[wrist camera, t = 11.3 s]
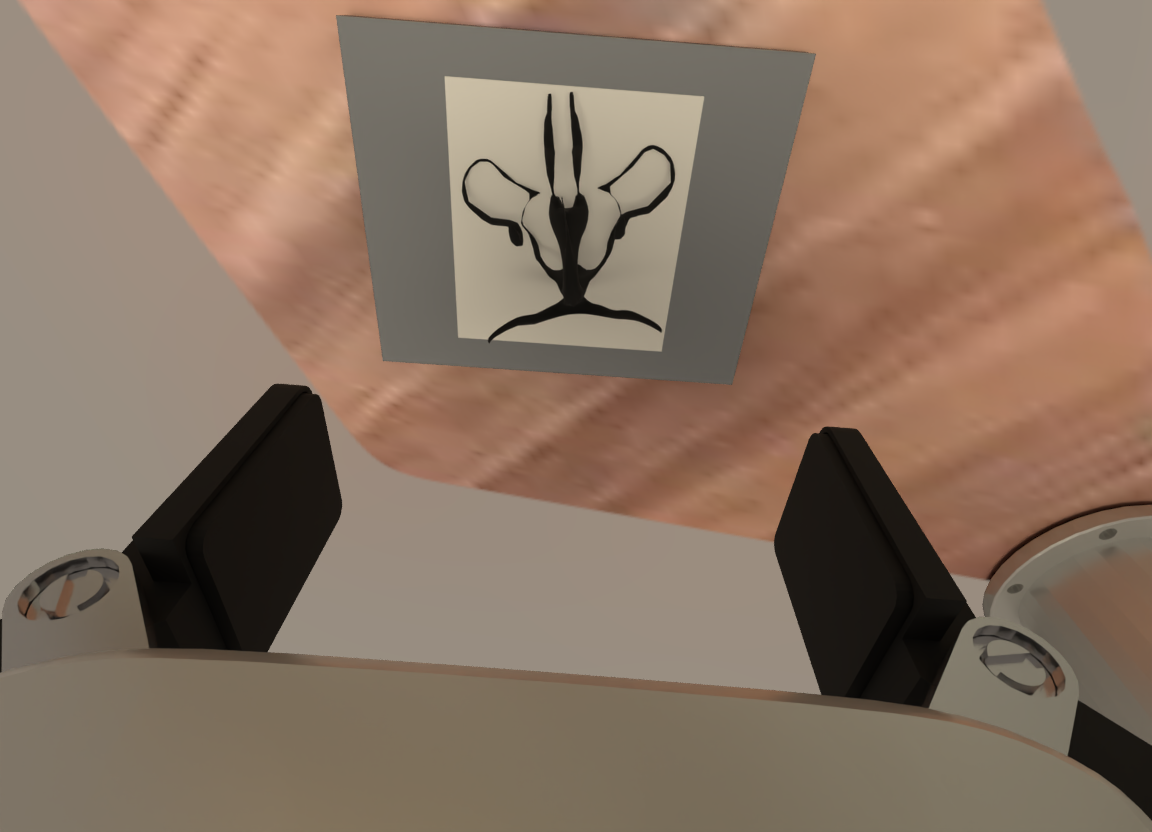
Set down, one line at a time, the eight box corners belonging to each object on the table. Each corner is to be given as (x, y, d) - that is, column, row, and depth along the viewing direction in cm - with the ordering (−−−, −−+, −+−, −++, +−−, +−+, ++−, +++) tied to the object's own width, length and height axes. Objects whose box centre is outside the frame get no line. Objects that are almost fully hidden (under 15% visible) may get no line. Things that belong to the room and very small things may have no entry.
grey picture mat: (805, 52, 21) (817, 54, 20) (726, 371, 28) (732, 385, 27) (348, 15, 20) (335, 15, 19) (390, 348, 28) (382, 361, 27)
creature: (457, 108, 22) (484, 320, 25) (414, 86, 17) (454, 355, 20) (670, 90, 21) (672, 309, 24) (692, 61, 16) (691, 342, 19)
